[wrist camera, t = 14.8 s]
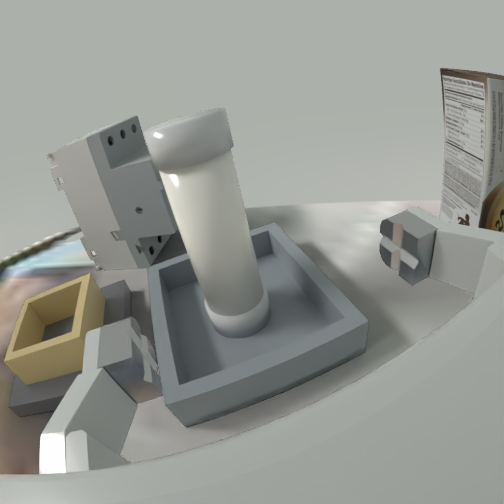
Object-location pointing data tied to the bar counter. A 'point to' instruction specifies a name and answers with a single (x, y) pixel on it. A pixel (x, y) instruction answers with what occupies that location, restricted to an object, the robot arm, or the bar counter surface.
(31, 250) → the bar counter surface
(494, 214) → the coffee box
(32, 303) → the block
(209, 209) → the cylinder
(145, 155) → the circuit breaker
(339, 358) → the parts tray
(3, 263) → the bar counter surface
